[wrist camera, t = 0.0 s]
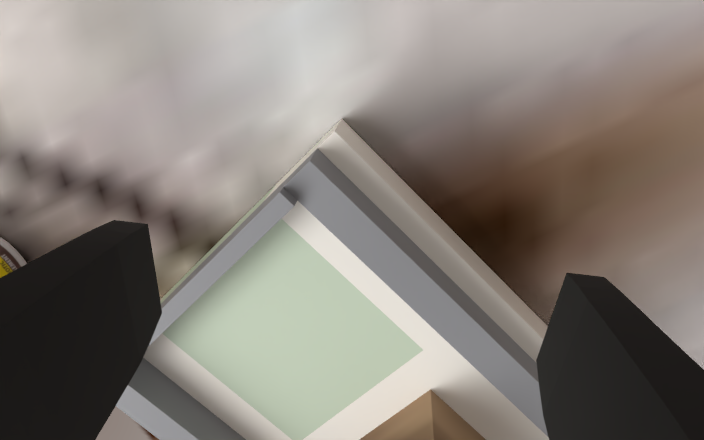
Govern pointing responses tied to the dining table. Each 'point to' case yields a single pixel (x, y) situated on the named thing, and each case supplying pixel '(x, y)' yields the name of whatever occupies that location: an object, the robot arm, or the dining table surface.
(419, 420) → the block
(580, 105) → the dining table surface
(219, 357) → the deck
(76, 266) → the robot arm
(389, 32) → the dining table surface
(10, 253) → the supplement bottle
